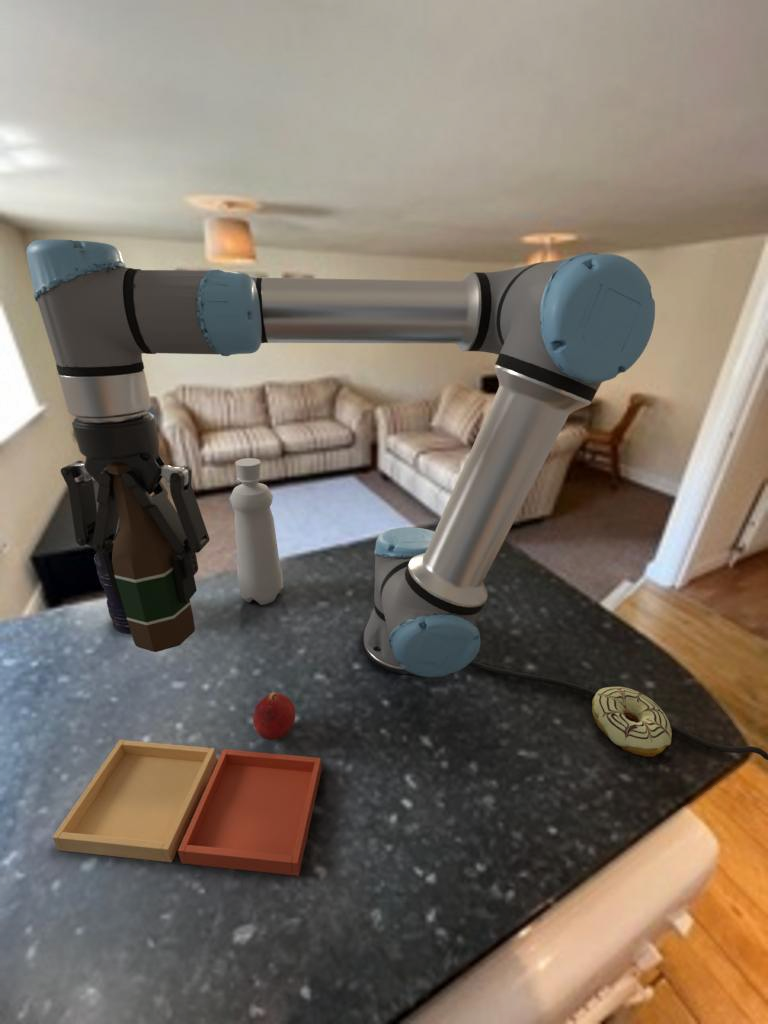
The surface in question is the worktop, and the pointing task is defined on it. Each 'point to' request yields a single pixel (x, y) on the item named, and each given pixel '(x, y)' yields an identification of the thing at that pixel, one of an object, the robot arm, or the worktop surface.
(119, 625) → the storage jar
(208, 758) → the birch tray
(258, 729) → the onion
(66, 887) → the worktop surface
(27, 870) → the worktop surface
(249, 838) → the terracotta tray
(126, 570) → the beer bottle
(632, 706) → the decorated donut
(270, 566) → the bottle
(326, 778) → the worktop surface
